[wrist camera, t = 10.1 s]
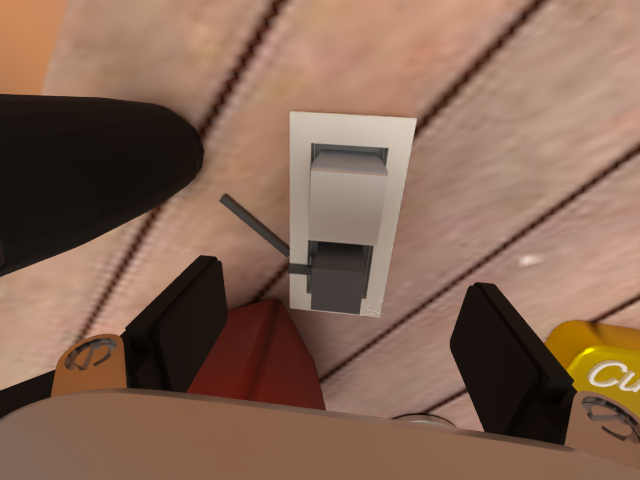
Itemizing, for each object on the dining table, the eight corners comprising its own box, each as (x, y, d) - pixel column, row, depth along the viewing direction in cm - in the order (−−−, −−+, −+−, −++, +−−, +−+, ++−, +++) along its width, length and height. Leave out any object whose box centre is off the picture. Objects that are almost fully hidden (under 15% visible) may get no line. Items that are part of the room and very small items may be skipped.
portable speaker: (223, 182, 28) (21, 306, 11) (144, 195, 30) (-144, 324, 12) (192, 88, 25) (-183, 51, 7) (103, 110, 26) (-379, 121, 9)
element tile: (504, 397, 39) (524, 433, 34) (559, 315, 32) (592, 347, 28) (614, 415, 38) (647, 454, 34) (692, 336, 32) (746, 372, 27)
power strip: (409, 117, 24) (428, 120, 18) (377, 300, 33) (383, 342, 27) (211, 106, 25) (169, 106, 19) (231, 286, 34) (207, 323, 28)
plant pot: (293, 266, 32) (243, 408, 17) (347, 376, 39) (345, 545, 24) (162, 304, 37) (32, 443, 22) (232, 397, 44) (170, 550, 29)
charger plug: (376, 152, 25) (390, 174, 17) (369, 205, 27) (378, 246, 19) (322, 148, 25) (309, 168, 17) (319, 201, 28) (306, 240, 20)
